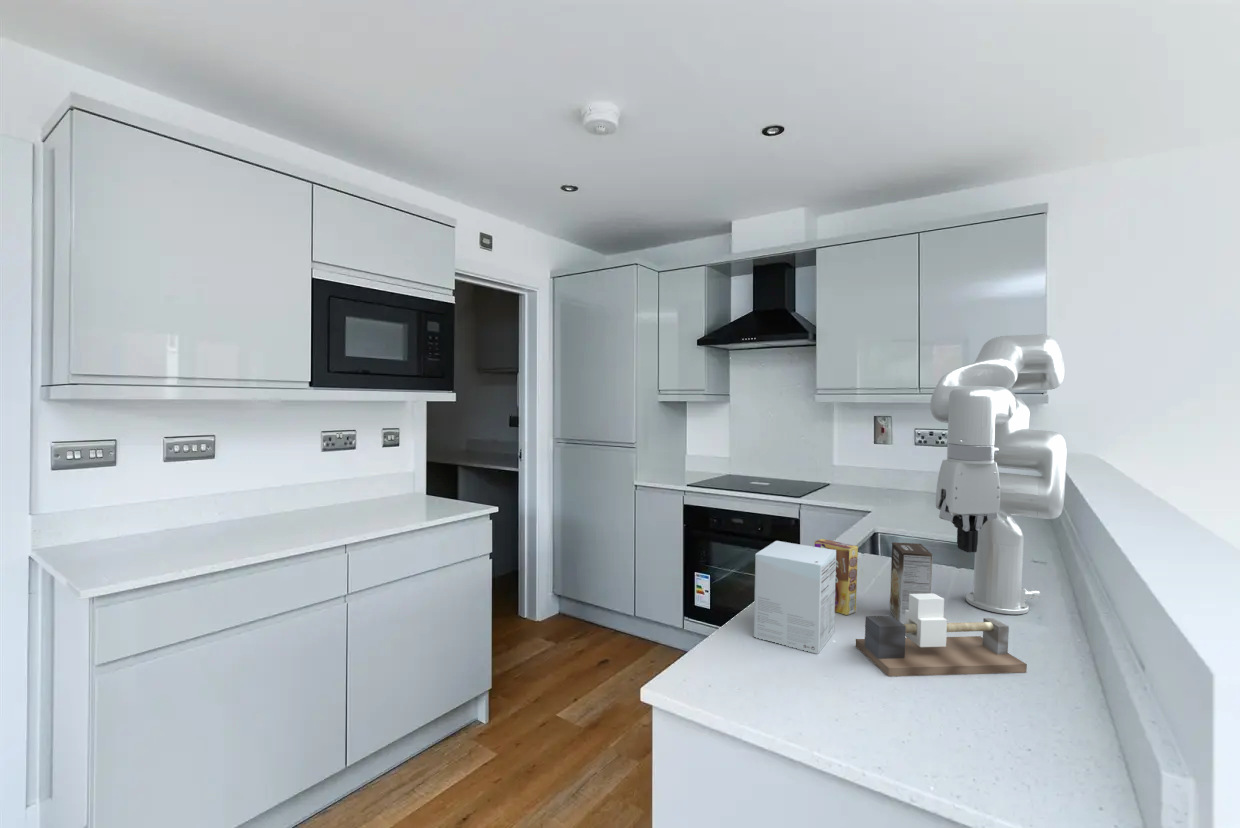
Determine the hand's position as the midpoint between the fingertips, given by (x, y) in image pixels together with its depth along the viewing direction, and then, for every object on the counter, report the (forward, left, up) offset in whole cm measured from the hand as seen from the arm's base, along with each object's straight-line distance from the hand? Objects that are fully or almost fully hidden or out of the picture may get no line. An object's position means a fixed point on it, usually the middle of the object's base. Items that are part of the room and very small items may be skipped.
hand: (966, 550), depth 110 cm
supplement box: (+28, -12, -21) cm, 37 cm away
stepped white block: (+8, 0, -17) cm, 19 cm away
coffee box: (-1, -19, -21) cm, 28 cm away
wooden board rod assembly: (+5, 0, -21) cm, 21 cm away
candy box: (+13, -26, -21) cm, 36 cm away
